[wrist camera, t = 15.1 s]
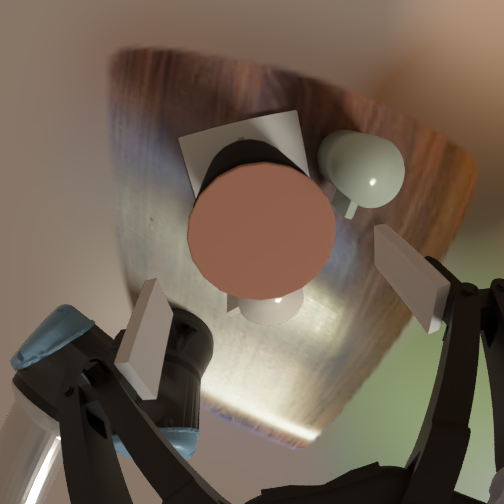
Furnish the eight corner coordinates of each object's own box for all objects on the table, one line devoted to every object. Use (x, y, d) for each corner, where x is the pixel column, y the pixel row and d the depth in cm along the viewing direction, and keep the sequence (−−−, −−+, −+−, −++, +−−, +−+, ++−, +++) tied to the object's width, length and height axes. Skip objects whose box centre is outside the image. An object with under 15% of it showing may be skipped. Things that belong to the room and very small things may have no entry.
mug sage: (328, 120, 34) (355, 124, 26) (378, 142, 35) (413, 153, 27) (303, 190, 38) (322, 213, 30) (353, 207, 40) (380, 233, 32)
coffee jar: (208, 218, 38) (192, 302, 22) (206, 138, 33) (181, 163, 17) (287, 218, 39) (325, 298, 23) (292, 139, 34) (345, 166, 18)
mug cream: (273, 229, 40) (283, 260, 32) (300, 269, 44) (314, 306, 36) (213, 265, 42) (210, 303, 34) (243, 301, 46) (246, 341, 38)
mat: (210, 241, 41) (210, 243, 40) (178, 137, 34) (177, 138, 33) (315, 217, 40) (316, 218, 39) (295, 110, 33) (296, 110, 32)
